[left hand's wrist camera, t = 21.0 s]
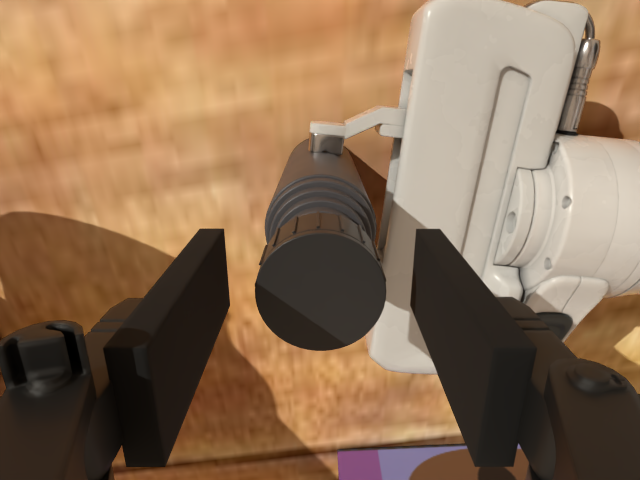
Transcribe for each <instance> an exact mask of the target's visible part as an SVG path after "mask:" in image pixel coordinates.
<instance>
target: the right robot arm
mask: <svg viewBox="0 0 640 480" xmlns="http://www.w3.org/2000/svg"><path fill="white" fill-rule="evenodd" d="M584 30H585V39H582V37H583V33H584ZM599 52H600V40H598V39H595V26H594V22H593V19H592V17H591V15H590V14H589V12H588V10H587V9H586V8H585V7H583V6H581V5H579V4H577V3H574V2H568V1H559V0H536V1H533V2H530V3H528V4H526V5H525V6H520V5H516V4H513V3H509V2H506V1H502V0H428V1H427V2H426V3H425V4H424V5H422V6H421V7H420V8H419V9H418V10H417V11H416V12H415V13H414V15H413V17H412V20H411V25H410V31H409V38H408V44H407V51H406V57H405V64H404V71H403V77H402V84H401V91H400V97H399V104H398V107H391V106H380V105H377V106H375V107H373V108H370V109H368V110H366V111H364V112H362V113H360V114H358V115H356V116H354V117H351V118H349V119H347V120H345V121H344V123H337V122H327V121H311V122H310V133H309V148H308V151H310V152H316V153H322V152H323V151H325V150H326V151H327V152H328V153H330V154H336V155H342V152H343V144H344V139H347V138H349V137H352V136H354V135H356V134H358V133H360V132H363V131H365V130H367V129H369V128H372V127H374V126H375V130H376V132H378V133H379V134H380V135H381V136H387V137H393V144H392V151H391V157H390V164H389V171H388V177H387V184H386V191H385V197H384V204H383V211H382V217H381V224H380V231H379V237H378V244H377V252H378V255H379V258H380V262H381V265H382V268H383V271H384V274H385V277H386V301H385V305H384V309H383V311H382V314H381V316H380V318H379V320H378V321H377V323H376V324H375V325H374V327H373V328H372V329H371V330H370V331H369V332H368V333H367V334H366V335H365V337H366V343H367V348H368V353H369V356H370V358H372V359H373V360H374V361H375V362H376V363H377V364H379V365H380V366H381V367H382V368H384V369H386V370H389V371H394V372H402V373H414V374H437V371H436V369H435V366H434V364H433V361H432V359H431V356H430V354H429V351H428V349H427V346H426V344H425V341H424V339H423V336H422V334H421V331H420V329H419V326H418V324H417V321H416V319H415V316H414V314H413V312H412V309H411V307H410V299H411V287H412V274H413V261H414V249H415V236H416V229H441V231H442V232H443V233H444V234H445V235H446V237H447V238H448V239H449V240H450V242H451V243H452V244H453V245H454V247H455V248H456V249H457V250H458V251H459V253H460V254H461V255H462V256H463V258H464V259H465V260H466V261H467V262H468V264H469V265H470V266H471V267H472V269H473V270H474V271H475V272H476V274H477V275H478V276H479V277H480V278H481V280H482V281H483V282H484V283H485V285H486V286H487V287H488V288H489V290H490V291H491V292H492V293H493V294H494V296H495V297H513V298H515V299H517V300H519V301H520V302H522V303H524V304H526V305H527V306H529V307H530V308H531V309H532V310H533V311H534V312H535V313H536V314H537V315H538V316H539V317H540V321H543V322H544V323H545V324H546V325H547V326H548V327H549V330H552V331H553V332H554V334H555V335H556V336H557V337H558V338H559V339H560V340H561V341H562V342H563V343H564V341H565V340H566V339H567V338H568V336H569V335H570V334H571V332H572V331H573V330H574V329H575V328H576V326H577V325H578V324H579V323H580V322H581V321H582V320H583V318H584V317H585V316H586V315H587V314H588V313H589V312H590V311H591V310H592V309H593V308H594V307H595V306H596V305H597V304H598V303H599V302H600V301H601V300H602V299H603V298H613V297H620V296H626V295H634V294H640V142H639V141H635V140H627V139H617V138H607V137H597V136H587V135H578V134H577V130H578V126H579V123H580V119H581V116H582V112H583V109H584V105H585V101H586V95H587V91H586V90H587V89H588V84H589V78H590V76H591V73H592V70H593V69H594V68H595V66H596V63H597V60H598V57H599Z"/></svg>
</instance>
